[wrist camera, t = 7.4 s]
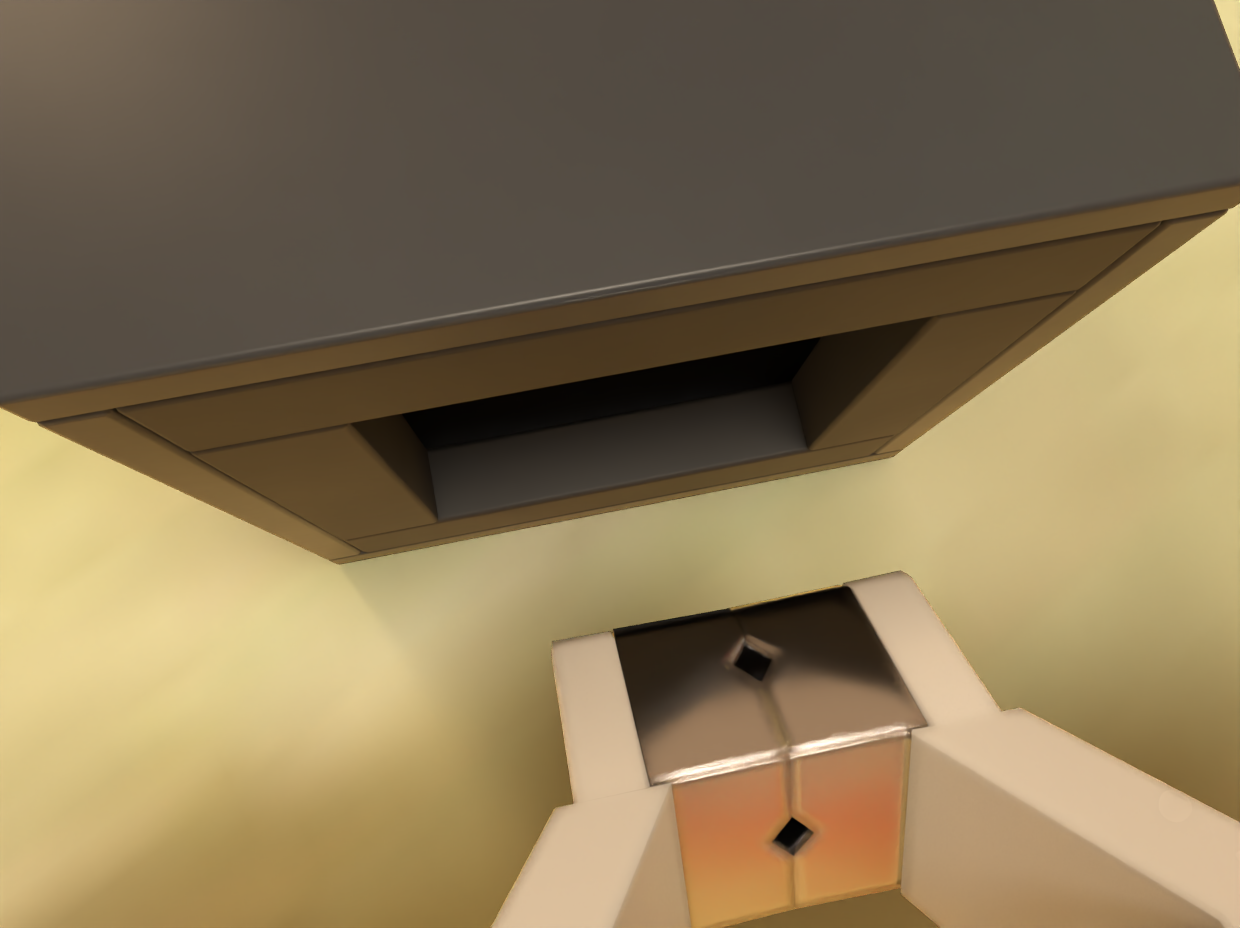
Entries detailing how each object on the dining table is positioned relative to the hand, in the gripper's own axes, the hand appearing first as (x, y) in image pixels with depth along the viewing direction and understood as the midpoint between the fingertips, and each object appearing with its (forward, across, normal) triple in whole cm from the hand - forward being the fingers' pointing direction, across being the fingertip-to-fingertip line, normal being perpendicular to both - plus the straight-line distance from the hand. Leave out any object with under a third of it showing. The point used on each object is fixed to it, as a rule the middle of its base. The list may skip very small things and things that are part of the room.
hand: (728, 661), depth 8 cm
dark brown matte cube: (+12, 0, 0) cm, 12 cm away
